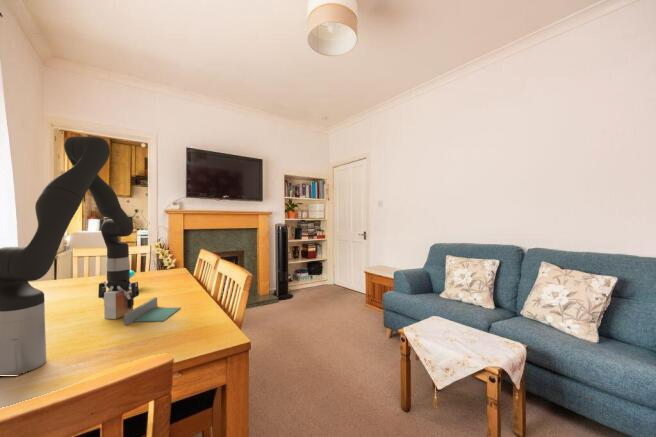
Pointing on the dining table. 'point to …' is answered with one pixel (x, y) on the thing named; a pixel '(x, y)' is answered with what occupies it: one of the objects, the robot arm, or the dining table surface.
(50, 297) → the dining table surface
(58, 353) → the dining table surface
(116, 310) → the small box
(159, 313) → the mat
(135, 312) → the divider wall
